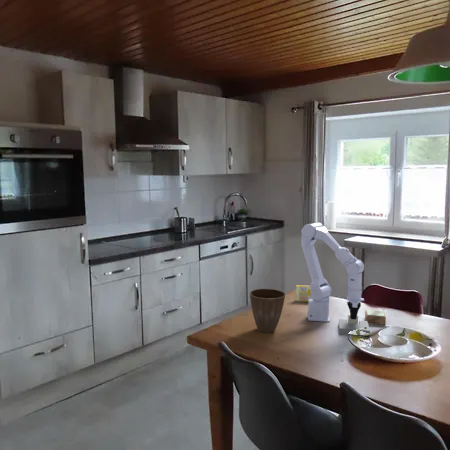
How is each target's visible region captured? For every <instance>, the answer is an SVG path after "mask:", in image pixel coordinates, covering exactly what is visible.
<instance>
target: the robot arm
mask: <svg viewBox="0 0 450 450" xmlns="http://www.w3.org/2000/svg"><path fill="white" fill-rule="evenodd" d="M300 232H301V233H300V234H301V240H300V245H301V249H302V251H303V252H302V253H303V255H304V258H305V262H306V266H307V268H308V273H309V276H310V278H311V283H310V285H309V286H310V288H311V297H312V298H313V299H309V301H308V303H307V304H308V310H307V321H315V322H325V323H326V322H328V323H330V318H331V317H330V297H331V295H332V293H333V289H332V287H331V286H330V284H329V282H328V280H327V278H325V277H324V274H323V271H322V268H321V264H320V261H319V257H318V255H317V251H316V249H315V243H316V241H317V240H320V241H323V242H324V243H325V244H326V245H327V246H328V247H329V248H330V249H331V250H333V252H334V253H335V254H334V256H335V257H336V259H337V260H338V261H339V262H340V263H341V264H342V265H343V266H344V267H345V270H346V271H345V272H346V273H347V275H348V276H347V296H346V300H347V302H346V303H347V304H346V305H347V306H348V310H349V313H350V317H351V319H356V318H357V314H359V310H360V308H361V306H362V303H361V302H365V299H364V298H362V286H363V285H362V284H363V282H362V281H363V272H364V271H365V264H364V262H363V261H362V260H361V259H357V257H356V256H354V255H353V254H352V253H351V252H350V249H349V248H347V247H345V246H344V247H342V246H341V245H340V244H339V242H337V240H336V239H335V238H334V237H333V236H332V235H331V234H330V232H329V231H328V229H327V227H326V226H324V225H323V224H322V223H321V222H318V221H317V222H314V223H307V224H304V226H303V227H302V228H301V230H300Z"/></svg>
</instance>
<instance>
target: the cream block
mask: <svg viewBox="0 0 450 450" xmlns="http://www.w3.org/2000/svg"><path fill="white" fill-rule="evenodd" d="M347 322H348V324H359V313H357V318H356V319H351V317H350V311H349V312H347Z"/></svg>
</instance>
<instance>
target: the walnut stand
mask: <svg viewBox="0 0 450 450" xmlns="http://www.w3.org/2000/svg"><path fill="white" fill-rule="evenodd" d="M364 314H365V315H364V319H365V320H364V321H368V325H378V326H379V325H380V326H386V323H387V322H386V319H387V316H386V314H385V312H384V310H373V309H366V310H365V311H364Z"/></svg>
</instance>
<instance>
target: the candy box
mask: <svg viewBox="0 0 450 450" xmlns="http://www.w3.org/2000/svg"><path fill="white" fill-rule="evenodd" d="M295 287H296V288H295V290H296V291H295V292H296V293H295V295H296V297H295V301H296V302H309V299H313V298H312V297H311V288H310V285H307V284H306V285H298V284H296V285H295Z"/></svg>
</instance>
